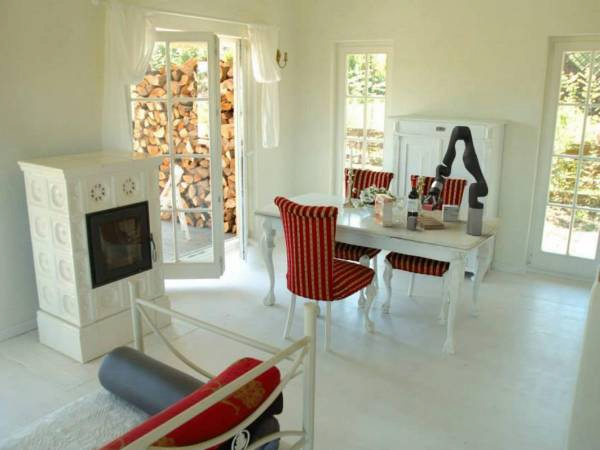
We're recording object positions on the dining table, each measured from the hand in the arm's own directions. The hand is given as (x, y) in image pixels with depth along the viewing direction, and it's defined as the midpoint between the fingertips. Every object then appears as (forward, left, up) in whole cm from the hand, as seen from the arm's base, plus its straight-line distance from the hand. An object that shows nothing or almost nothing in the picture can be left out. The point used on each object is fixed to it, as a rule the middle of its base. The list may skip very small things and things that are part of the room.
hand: (427, 209), depth 384 cm
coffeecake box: (+7, +29, -11) cm, 32 cm away
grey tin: (-8, +14, -11) cm, 19 cm away
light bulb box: (+12, -22, -11) cm, 28 cm away
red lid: (+1, -1, 0) cm, 2 cm away
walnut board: (+1, -1, -11) cm, 11 cm away
